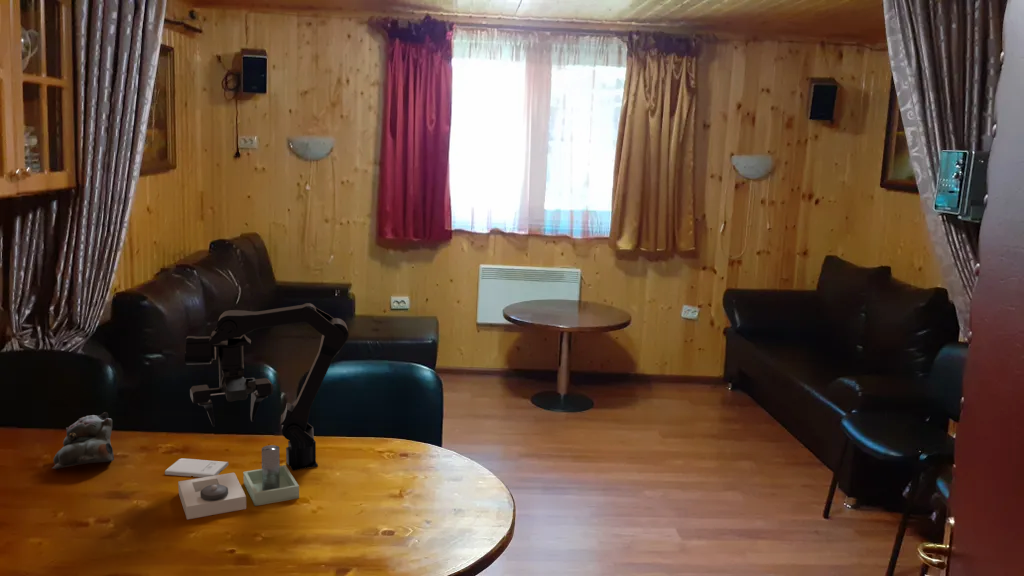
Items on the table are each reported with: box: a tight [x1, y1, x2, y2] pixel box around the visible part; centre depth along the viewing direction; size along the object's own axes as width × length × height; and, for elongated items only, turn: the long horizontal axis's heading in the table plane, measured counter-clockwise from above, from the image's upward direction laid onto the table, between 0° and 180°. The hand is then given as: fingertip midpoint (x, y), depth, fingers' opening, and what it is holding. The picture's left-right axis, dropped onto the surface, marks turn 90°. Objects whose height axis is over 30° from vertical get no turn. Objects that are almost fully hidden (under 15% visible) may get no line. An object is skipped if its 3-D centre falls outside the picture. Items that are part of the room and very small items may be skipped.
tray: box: [242, 464, 300, 507], centre depth 191 cm, size 10×13×3 cm
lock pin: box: [261, 444, 281, 491], centre depth 190 cm, size 4×4×10 cm
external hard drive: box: [164, 458, 229, 478], centre depth 201 cm, size 2×8×12 cm
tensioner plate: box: [177, 472, 247, 520], centre depth 184 cm, size 12×14×5 cm
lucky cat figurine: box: [51, 411, 115, 471], centre depth 202 cm, size 15×12×14 cm
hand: (233, 423), depth 200 cm, fingers open, 9 cm apart
